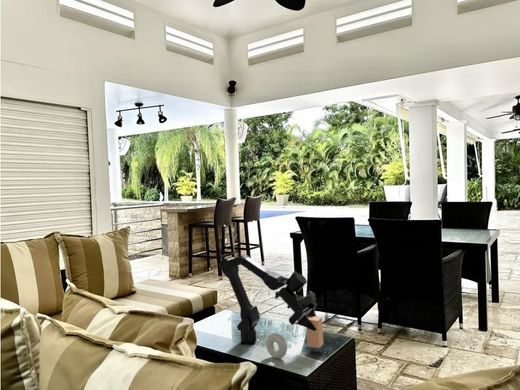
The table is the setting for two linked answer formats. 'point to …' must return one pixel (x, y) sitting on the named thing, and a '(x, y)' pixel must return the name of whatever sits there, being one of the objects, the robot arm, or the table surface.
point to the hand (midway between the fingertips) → (317, 328)
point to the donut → (271, 348)
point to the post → (315, 333)
